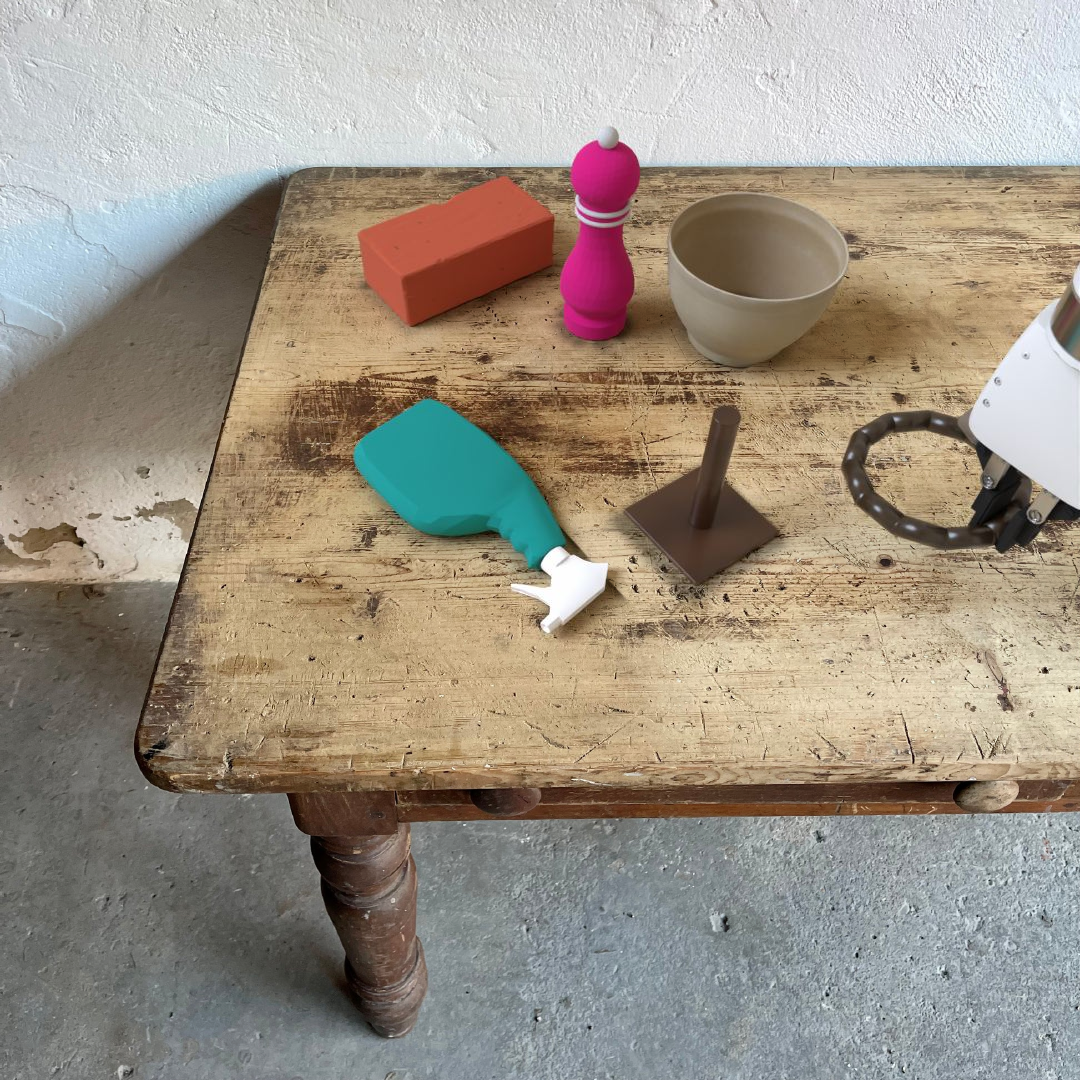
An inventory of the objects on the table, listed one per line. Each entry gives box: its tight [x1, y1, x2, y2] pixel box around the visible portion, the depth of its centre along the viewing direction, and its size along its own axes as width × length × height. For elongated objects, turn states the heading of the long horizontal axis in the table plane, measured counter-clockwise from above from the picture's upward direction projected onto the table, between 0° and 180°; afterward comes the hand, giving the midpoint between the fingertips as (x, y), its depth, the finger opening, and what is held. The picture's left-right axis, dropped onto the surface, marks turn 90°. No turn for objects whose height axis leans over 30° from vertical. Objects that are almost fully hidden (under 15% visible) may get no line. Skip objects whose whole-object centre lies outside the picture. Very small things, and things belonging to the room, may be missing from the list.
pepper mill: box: [559, 125, 641, 341], centre depth 82 cm, size 7×7×20 cm
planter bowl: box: [667, 191, 850, 368], centre depth 84 cm, size 16×16×11 cm
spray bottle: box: [353, 398, 609, 634], centre depth 73 cm, size 3×11×24 cm
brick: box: [357, 175, 556, 327], centre depth 91 cm, size 18×9×6 cm, turn 126°
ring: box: [840, 409, 1033, 552], centre depth 66 cm, size 13×13×2 cm
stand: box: [622, 405, 780, 587], centre depth 68 cm, size 9×9×13 cm
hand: (997, 530), depth 63 cm, fingers closed on ring, 1 cm apart
